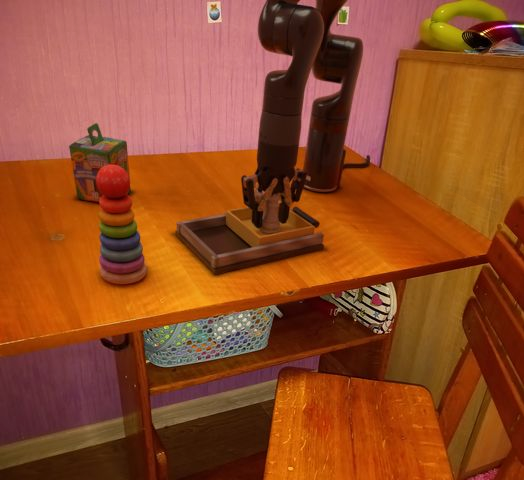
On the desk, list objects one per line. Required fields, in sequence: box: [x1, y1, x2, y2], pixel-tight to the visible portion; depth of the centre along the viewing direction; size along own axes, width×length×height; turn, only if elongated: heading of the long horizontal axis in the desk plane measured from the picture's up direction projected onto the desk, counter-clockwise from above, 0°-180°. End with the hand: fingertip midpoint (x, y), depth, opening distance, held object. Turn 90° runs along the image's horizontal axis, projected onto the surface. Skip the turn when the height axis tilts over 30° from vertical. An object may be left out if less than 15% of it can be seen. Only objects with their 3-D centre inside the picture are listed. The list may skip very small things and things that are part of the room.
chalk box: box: [68, 122, 132, 203], centre depth 106 cm, size 9×9×15 cm
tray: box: [225, 201, 321, 247], centre depth 100 cm, size 16×13×3 cm
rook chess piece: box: [259, 193, 281, 234], centre depth 97 cm, size 4×4×8 cm
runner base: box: [175, 213, 325, 275], centre depth 98 cm, size 25×17×3 cm
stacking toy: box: [96, 165, 148, 285], centre depth 80 cm, size 8×8×19 cm
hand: (269, 224), depth 99 cm, fingers open, 5 cm apart
